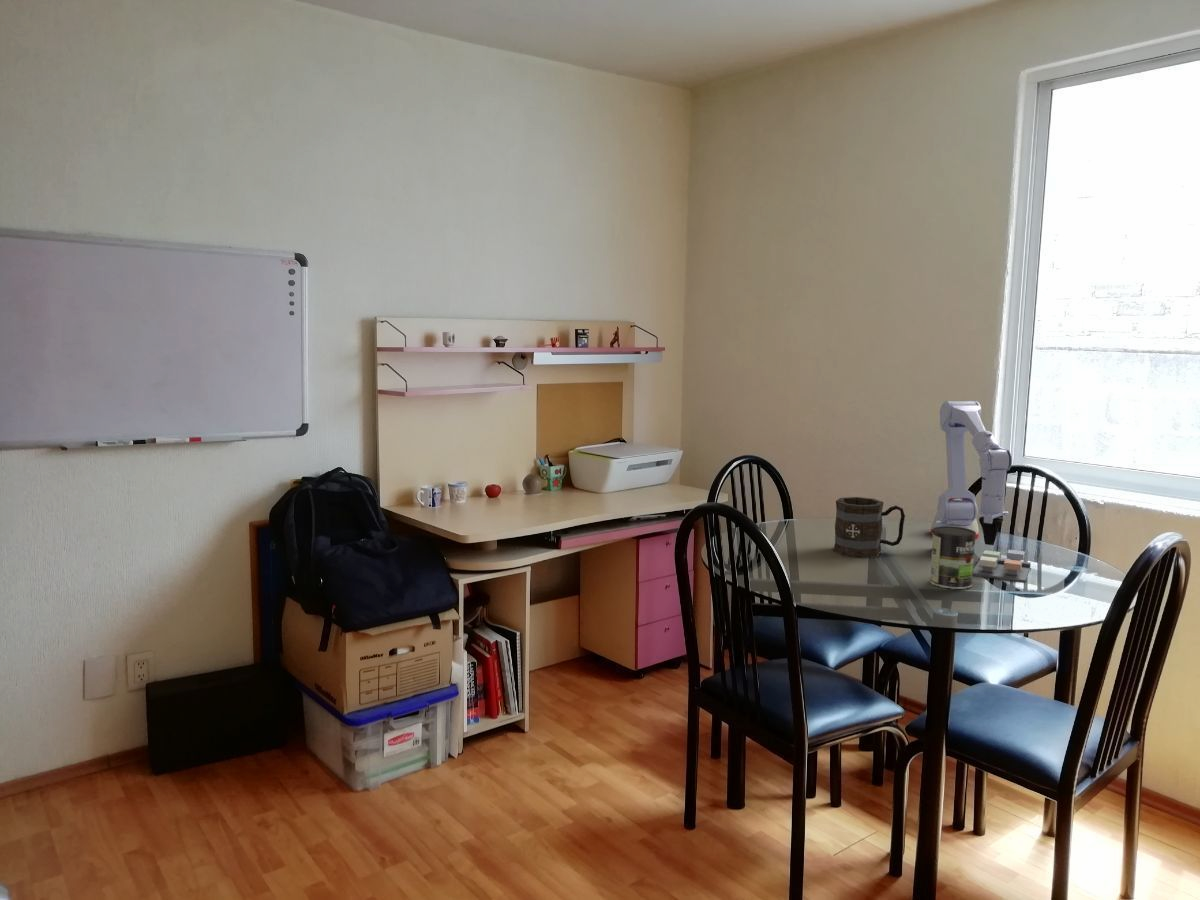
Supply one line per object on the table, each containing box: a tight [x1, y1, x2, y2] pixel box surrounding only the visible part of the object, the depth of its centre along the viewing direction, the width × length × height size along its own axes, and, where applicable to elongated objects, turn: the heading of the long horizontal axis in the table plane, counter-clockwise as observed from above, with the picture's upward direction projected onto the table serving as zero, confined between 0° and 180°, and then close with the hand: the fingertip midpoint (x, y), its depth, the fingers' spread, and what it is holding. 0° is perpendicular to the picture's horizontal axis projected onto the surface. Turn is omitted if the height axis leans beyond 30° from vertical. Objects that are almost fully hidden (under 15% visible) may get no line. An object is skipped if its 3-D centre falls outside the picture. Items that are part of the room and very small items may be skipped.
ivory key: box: [978, 555, 998, 572], centre depth 242 cm, size 4×4×3 cm
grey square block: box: [1006, 549, 1026, 562], centre depth 244 cm, size 4×4×3 cm
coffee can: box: [929, 526, 976, 590], centre depth 231 cm, size 10×10×14 cm
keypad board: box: [973, 555, 1031, 583], centre depth 243 cm, size 13×15×2 cm
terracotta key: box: [1004, 558, 1023, 575], centre depth 239 cm, size 4×4×3 cm
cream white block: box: [982, 550, 1001, 561], centre depth 248 cm, size 4×4×3 cm
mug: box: [833, 496, 906, 559], centre depth 262 cm, size 20×14×15 cm
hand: (989, 544), depth 241 cm, fingers closed
